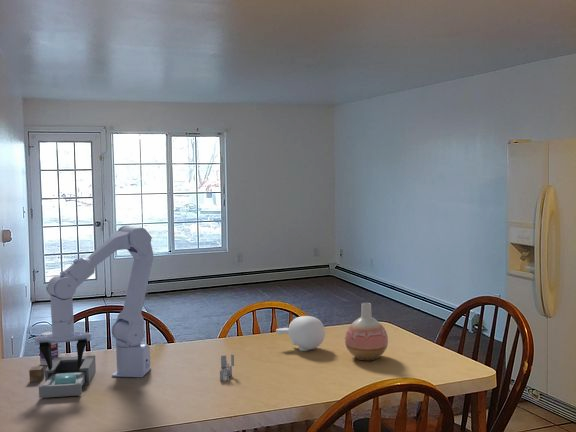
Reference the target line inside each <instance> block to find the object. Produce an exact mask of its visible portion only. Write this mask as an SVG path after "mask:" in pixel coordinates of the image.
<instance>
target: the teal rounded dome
mask: <svg viewBox="0 0 576 432" xmlns="http://www.w3.org/2000/svg"><path fill="white" fill-rule="evenodd" d="M75 383H76V375H75V374H73V373H65V374H60V375H57V376H56V377H55V385H59V384H75Z"/></svg>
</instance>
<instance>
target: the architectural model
mask: <svg viewBox="0 0 576 432" xmlns="http://www.w3.org/2000/svg"><path fill="white" fill-rule="evenodd" d="M230 359H231V360H230V363H231V364H230V363H229V362H228V360H227V354H225V355H220V370H219V382H221V381H225V382H226V381H227V380H228V381H229V380H230V377H233V367H234V366H235V354H232V353H231V354H230ZM288 383H289V382H288Z"/></svg>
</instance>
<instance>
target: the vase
mask: <svg viewBox="0 0 576 432" xmlns="http://www.w3.org/2000/svg"><path fill="white" fill-rule="evenodd" d="M360 308H361V309H360V310H361V311H360V312H361V313H360V317H358V318H357V319H355V320H354V321H353V322H351V323H350V325H349V326H348V327H347V330H346V332H345V336H344V344H345V347H346V350H348V352H349V353H350V354H351V355H352V356H354V358H356V359H357V360H360V361H364V362H365V361H367V362H368V361H374V360H377V359H379V357H380V356H382V355H383V354H384V353H385V351H386V350H387V348H388V346H389V337H388V333H387V331H386V328H385V327H384V326H383V324H381V322H380V321H378V320H377V319H376V318H375V317H372V315H373V314H372V303H370V302H361V307H360Z"/></svg>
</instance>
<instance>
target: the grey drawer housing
mask: <svg viewBox="0 0 576 432" xmlns="http://www.w3.org/2000/svg"><path fill="white" fill-rule="evenodd" d="M96 365H97V364H96V355H82V361H81V367H78V355H76V356H61V357H59V356H58V358H54V359H53V361H52V369H51V370H49V369H48V366H47V367H46V369H44V379H45V383H46V381H47V380H48V379H49V377H50V376H51V374H62V373H79V372H86V379H85V381H84V383H83V385H82V386H85V385H86V386H88V385H90V384H91V381H92V379H93V377H94V375H95V373H96V370H97V366H96Z"/></svg>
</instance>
